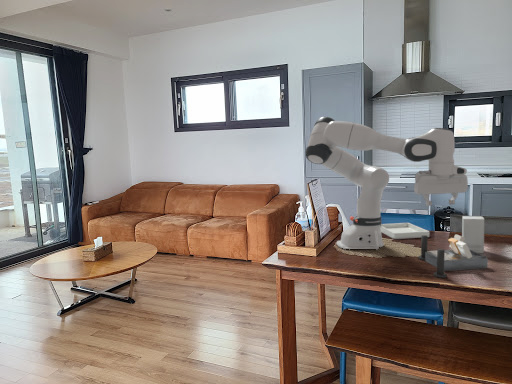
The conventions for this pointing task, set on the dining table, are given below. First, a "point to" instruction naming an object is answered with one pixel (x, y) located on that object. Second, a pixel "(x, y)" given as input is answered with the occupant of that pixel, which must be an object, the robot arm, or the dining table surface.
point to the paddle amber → (454, 245)
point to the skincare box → (473, 232)
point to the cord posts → (440, 257)
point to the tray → (403, 230)
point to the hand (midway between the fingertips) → (440, 204)
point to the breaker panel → (458, 260)
